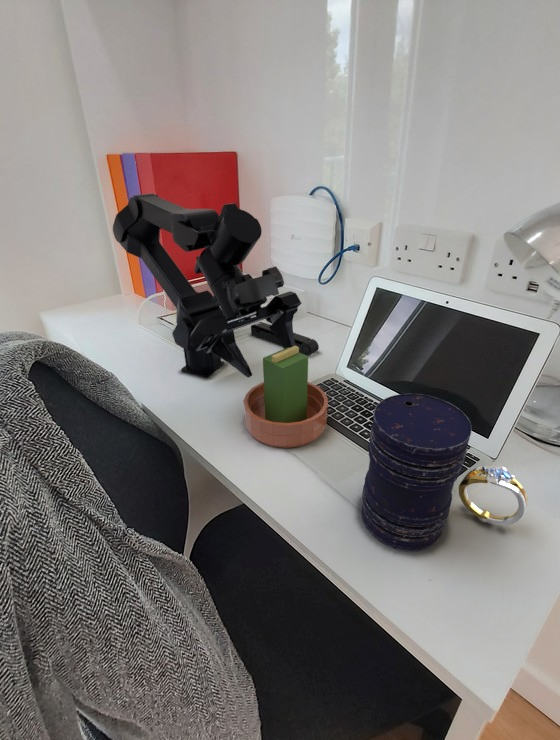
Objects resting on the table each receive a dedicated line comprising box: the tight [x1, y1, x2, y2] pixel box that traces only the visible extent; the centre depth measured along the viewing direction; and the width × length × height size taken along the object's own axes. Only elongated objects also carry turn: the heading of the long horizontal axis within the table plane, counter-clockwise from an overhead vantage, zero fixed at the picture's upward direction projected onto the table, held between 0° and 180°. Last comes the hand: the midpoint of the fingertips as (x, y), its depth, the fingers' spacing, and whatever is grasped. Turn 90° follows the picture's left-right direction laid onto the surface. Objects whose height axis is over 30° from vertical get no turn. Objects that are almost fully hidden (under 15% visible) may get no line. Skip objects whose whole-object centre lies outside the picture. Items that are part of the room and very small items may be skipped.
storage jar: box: [360, 393, 473, 552], centre depth 46 cm, size 10×10×15 cm
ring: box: [457, 464, 528, 526], centre depth 48 cm, size 7×3×8 cm, turn 47°
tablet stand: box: [250, 321, 320, 357], centre depth 92 cm, size 18×3×3 cm, turn 49°
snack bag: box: [262, 346, 309, 423], centre depth 64 cm, size 4×5×12 cm
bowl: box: [243, 381, 329, 449], centre depth 66 cm, size 13×13×4 cm
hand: (273, 366), depth 64 cm, fingers open, 9 cm apart
